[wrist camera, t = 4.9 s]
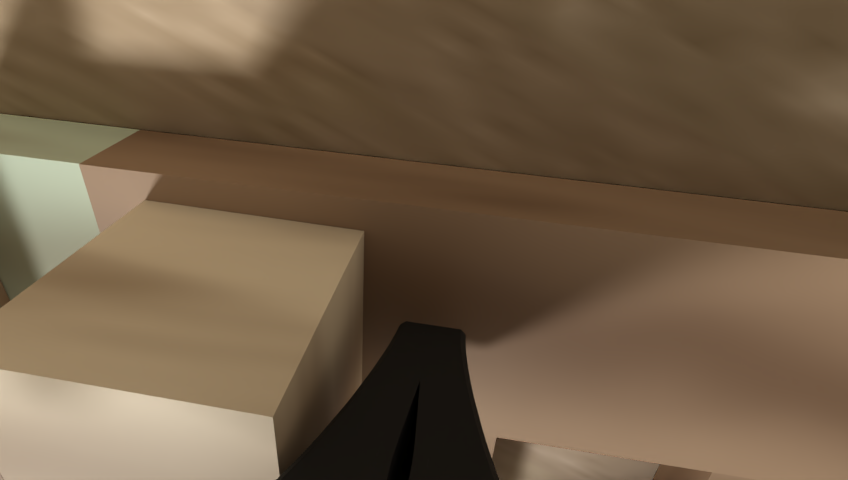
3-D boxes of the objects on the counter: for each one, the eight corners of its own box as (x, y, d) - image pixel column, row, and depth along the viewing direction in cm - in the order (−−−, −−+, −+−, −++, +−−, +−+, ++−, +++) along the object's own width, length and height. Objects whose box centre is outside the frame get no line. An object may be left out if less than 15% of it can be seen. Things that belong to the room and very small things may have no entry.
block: (361, 393, 12) (293, 599, 9) (182, 362, 13) (43, 547, 9) (364, 231, 10) (272, 416, 6) (144, 200, 11) (-66, 357, 7)
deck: (823, 565, 16) (903, 732, 13) (110, 440, 19) (20, 555, 15) (1109, 242, 10) (1407, 402, 7) (-20, 111, 12) (-220, 183, 9)
